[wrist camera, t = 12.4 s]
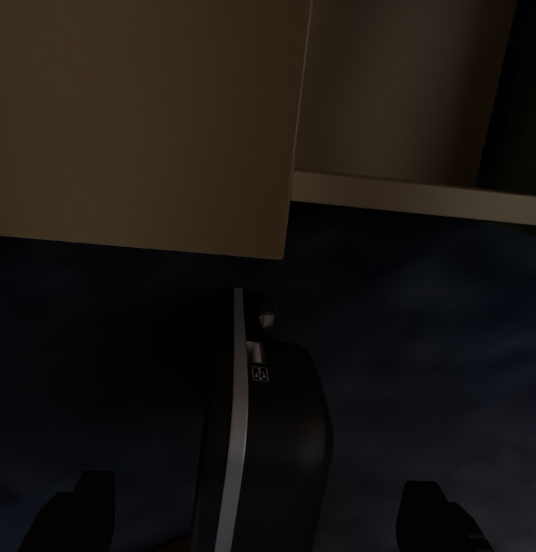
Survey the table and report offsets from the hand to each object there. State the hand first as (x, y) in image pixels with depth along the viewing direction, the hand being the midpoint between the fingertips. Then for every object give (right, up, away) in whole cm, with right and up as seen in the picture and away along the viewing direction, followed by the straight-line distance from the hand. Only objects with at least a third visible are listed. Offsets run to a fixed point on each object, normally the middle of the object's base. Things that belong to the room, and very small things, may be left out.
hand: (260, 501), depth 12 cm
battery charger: (-1, +2, +11) cm, 11 cm away
